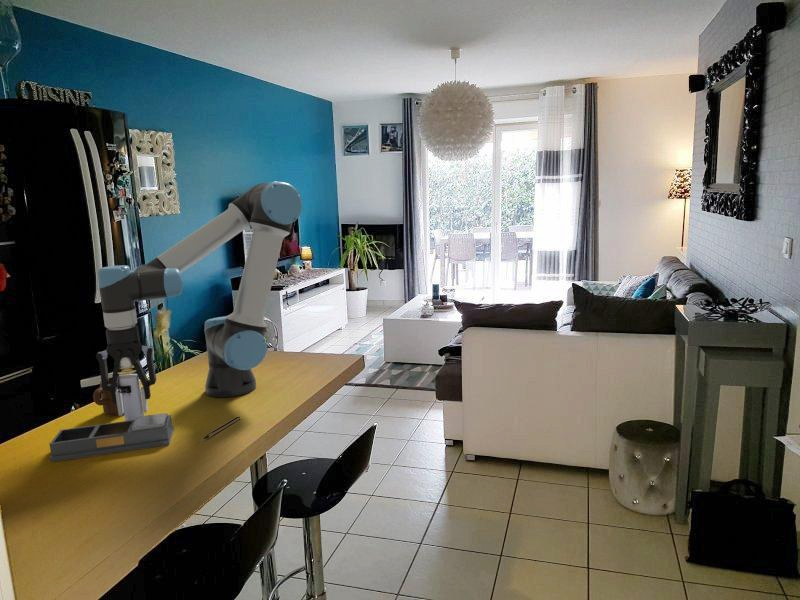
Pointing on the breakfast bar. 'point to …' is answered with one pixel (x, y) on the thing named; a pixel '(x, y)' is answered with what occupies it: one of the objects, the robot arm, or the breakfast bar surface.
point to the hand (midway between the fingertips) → (133, 412)
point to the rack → (112, 437)
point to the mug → (106, 400)
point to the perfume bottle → (130, 390)
